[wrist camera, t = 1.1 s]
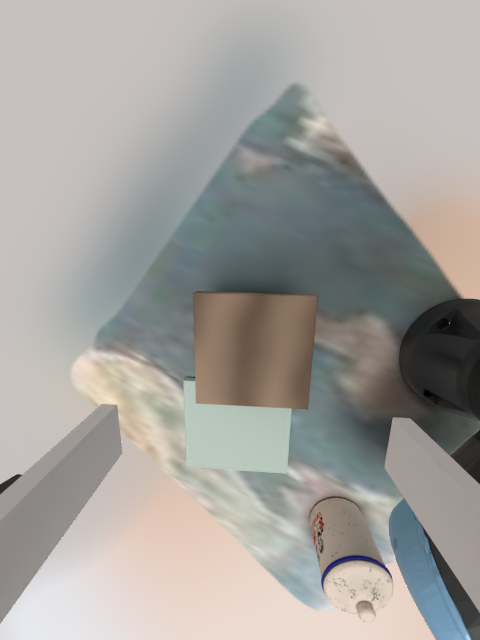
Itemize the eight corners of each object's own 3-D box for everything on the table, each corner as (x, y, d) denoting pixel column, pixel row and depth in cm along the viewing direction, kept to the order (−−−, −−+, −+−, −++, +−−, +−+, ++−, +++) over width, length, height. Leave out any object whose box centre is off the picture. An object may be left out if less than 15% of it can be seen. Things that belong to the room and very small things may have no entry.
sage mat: (292, 382, 35) (293, 385, 34) (285, 468, 38) (286, 473, 37) (185, 377, 36) (183, 380, 35) (188, 461, 39) (186, 466, 38)
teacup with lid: (304, 497, 39) (325, 591, 27) (361, 492, 38) (407, 588, 27) (312, 553, 41) (334, 661, 30) (365, 550, 40) (409, 660, 29)
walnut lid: (313, 294, 22) (317, 296, 20) (304, 400, 24) (307, 409, 23) (197, 291, 23) (193, 292, 21) (199, 395, 25) (195, 403, 23)
